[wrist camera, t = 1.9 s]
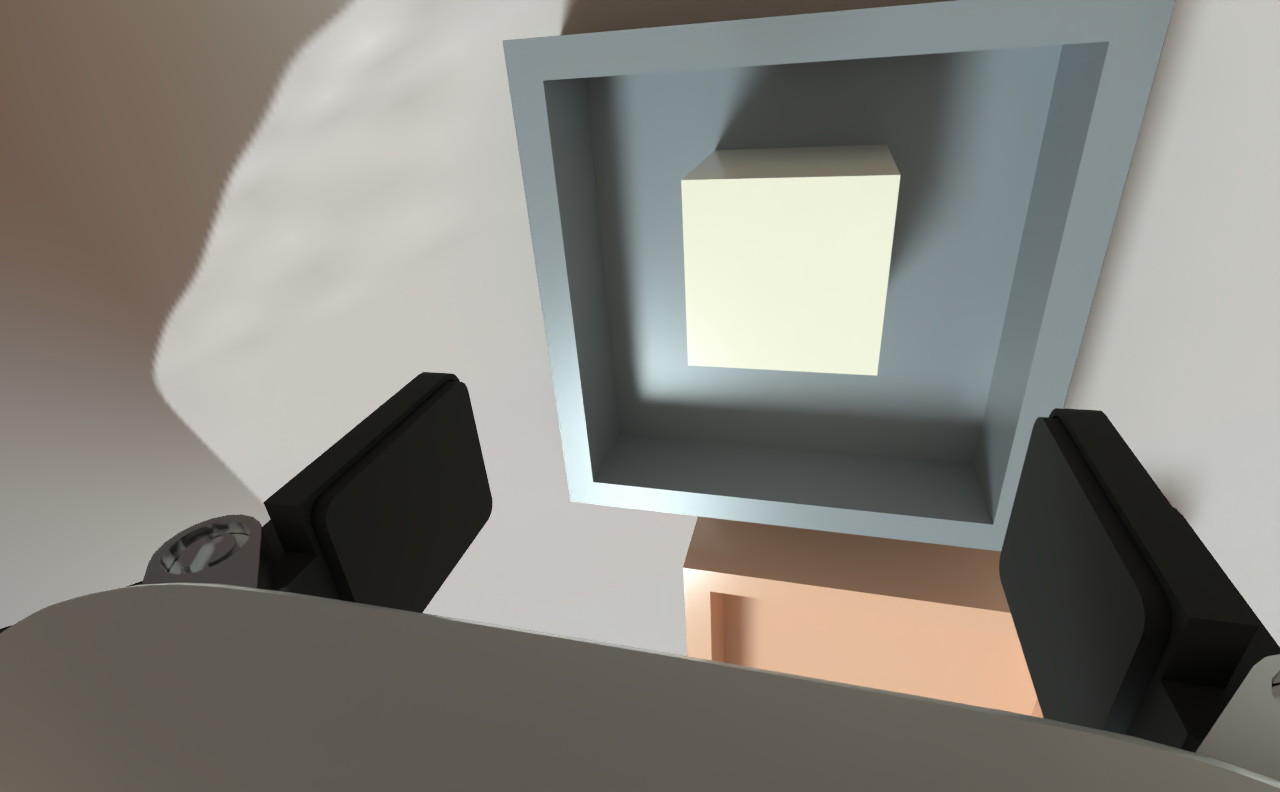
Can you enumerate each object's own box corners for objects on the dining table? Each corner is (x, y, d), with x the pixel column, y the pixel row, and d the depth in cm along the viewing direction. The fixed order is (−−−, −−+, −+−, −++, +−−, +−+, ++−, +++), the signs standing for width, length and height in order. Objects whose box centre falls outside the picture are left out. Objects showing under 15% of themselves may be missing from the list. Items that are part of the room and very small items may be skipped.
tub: (1110, 547, 28) (1155, 632, 24) (1023, 791, 36) (1045, 885, 32) (702, 502, 33) (682, 567, 29) (708, 728, 41) (694, 803, 37)
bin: (1110, -8, 19) (1180, -20, 15) (996, 479, 28) (1022, 553, 24) (558, 40, 24) (502, 40, 20) (603, 444, 33) (570, 501, 29)
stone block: (886, 144, 22) (900, 175, 17) (869, 307, 25) (877, 375, 20) (714, 150, 24) (681, 180, 19) (716, 303, 27) (688, 365, 22)
